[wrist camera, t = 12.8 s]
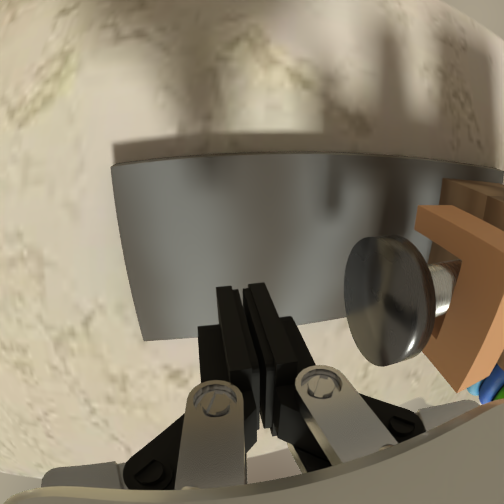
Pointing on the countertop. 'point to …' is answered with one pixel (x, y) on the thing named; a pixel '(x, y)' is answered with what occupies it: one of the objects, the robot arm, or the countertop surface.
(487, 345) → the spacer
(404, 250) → the shaft
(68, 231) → the countertop surface
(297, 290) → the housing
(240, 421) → the robot arm
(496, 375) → the stacking toy
